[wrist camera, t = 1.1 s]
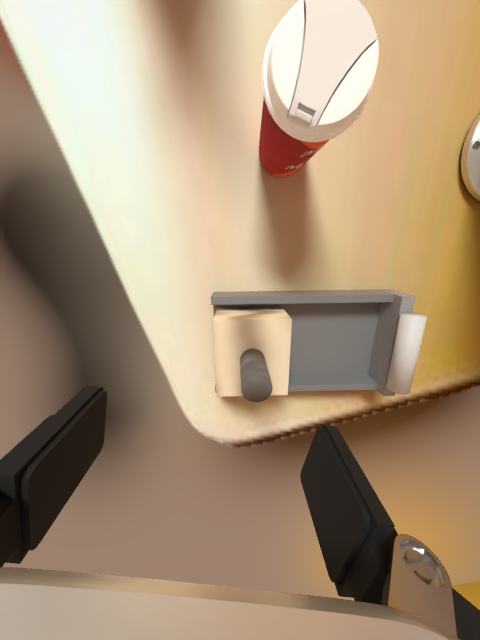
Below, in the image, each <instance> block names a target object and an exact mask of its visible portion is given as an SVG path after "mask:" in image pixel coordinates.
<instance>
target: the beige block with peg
mask: <svg viewBox="0 0 480 640" xmlns="http://www.w3.org/2000/svg"><path fill="white" fill-rule="evenodd" d="M291 329H292V319H291V318H290V316H289V315H288V314H287V313H286V311H285V310H284V309H283V308H282V307H251V308H217V309H216V313H215V316H214V319H213V331H214V353H215V374H216V395H217V397H223V396H244V397H245V398H246V399H247V400H249V401H252V402H261V401H263V400H265V399H267V398H268V397H269V396H270V395H288V382H289V364H290V346H291Z"/></svg>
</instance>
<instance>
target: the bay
mask: <svg viewBox="0 0 480 640" xmlns="http://www.w3.org/2000/svg"><path fill="white" fill-rule="evenodd" d="M414 301H415V296H412V295H408V294H404V293H400V292H396V291H393V290H331V291H262V292H213V294H212V296H211V305H213V309H214V316H215V313H216V309H217V308H251V307H282V308H283V309H284V310H285V311H286V313H287V314H288V315H289V316H290V318H291V319H292V329H291V346H290V364H289V382H288V392H290V391H337V390H378V391H379V392H380V393H381V394H382V395H383V396H395V393H398V394H409V393H410V389H411V385H412V381H413V376H414V372H415V368H416V363H417V359H418V355H419V350H420V346H421V342H422V338H423V333H424V329H425V325H426V320H427V316H425V315H422V314H418V313H412V310H413V306H414ZM215 391H216V386H215Z"/></svg>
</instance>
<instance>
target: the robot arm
mask: <svg viewBox="0 0 480 640" xmlns="http://www.w3.org/2000/svg"><path fill="white" fill-rule="evenodd" d="M461 174H462V177H463V181H464V184H465V186H466V188H467V190H468V191H469V193H470V194H471V195H472V196H473V197H474V198H475V199H477V200H478V201H480V114H479V115H478V116H477V118H476V119H475V121H474V123H473V124H472V126H471V128H470V130H469V132H468V134H467V137H466V139H465V142H464V146H463V150H462V156H461ZM106 403H107V392H106V391H104V389H103V387H99V386H93V385H87V386H86V387H84V388H83V389H82V390H81V391H80V392H79V393H78V394H76V395H75V396H74V397H73V398H72V399H71V400H70V401H69V402H68V403H67V404H66V405H64V406H63V407H62V408H61V409H60V410H59V411H58V412H57V413H56V414H55V415H51V416H49V417H48V418H47V419H45V420H44V421H43V422H42V423H41V424H40V425H39V426H38V427H36V429H34V430H33V431H32V432H31V433H30V434H29V435H28V436H26V437H25V438H24V439H23V440H22V441H21V442H20V443H19V444H17V445H16V446H15V447H14V448H13V449H12V450H11V451H10V452H9V453H8V454H6V455H5V456H4V457H3V458H2V459H1V460H0V640H480V610H478V609H477V608H476V607H475V606H474V605H472V604H471V603H470V602H469V601H468V600H466V599H465V598H464V597H463V596H462V595H460V594H459V593H458V592H457V591H455V590H454V589H453V588H452V586H451V582H450V578H449V576H448V573H447V571H446V570H445V567H444V566H443V564H442V563H441V562H440V560H439V559H438V557H437V556H436V555H435V554H434V553H433V552H432V551H431V550H430V549H429V548H428V547H427V546H425V545H424V544H423V543H422V542H421V541H419V540H417V539H416V538H414V537H412V536H409V535H405V534H400V535H398V534H397V532H396V530H395V528H394V527H395V526H394V524H393V522H392V520H391V519H390V517H389V515H388V514H387V512H386V510H385V508H384V507H383V505H382V503H381V502H380V500H379V498H378V497H377V495H376V493H375V491H374V490H373V488H372V486H371V485H370V483H369V481H368V479H367V478H366V476H365V474H364V473H363V471H362V469H361V468H360V466H359V464H358V463H357V461H356V459H355V457H354V456H353V454H352V452H351V451H350V449H349V447H348V445H347V444H346V442H345V440H344V439H343V437H342V435H341V434H340V432H339V430H338V429H337V427H335V426H329V425H322V426H321V427H318V428H317V431H316V433H315V436H314V439H313V441H312V444H311V447H310V449H309V452H308V454H307V457H306V460H305V463H304V465H303V468H302V470H301V483H302V486H303V489H304V493H305V496H306V499H307V503H308V507H309V510H310V513H311V516H312V520H313V524H314V527H315V530H316V534H317V537H318V540H319V544H320V547H321V550H322V554H323V558H324V561H325V564H326V568H327V571H328V575H329V577H330V579H331V581H332V582H334V583H335V586H336V589H337V592H338V595H339V596H342V597H352V598H354V599H355V601H351V600H344V599H336V598H329V597H320V596H311V595H301V594H292V593H283V592H273V591H264V590H255V589H245V588H236V587H226V586H225V587H224V586H216V585H205V584H196V583H186V582H176V581H165V580H156V579H145V578H134V577H124V576H112V575H102V574H92V573H81V572H69V571H55V570H42V569H27V568H3V567H2V566H3V564H4V563H5V562H7V563H17V564H20V562H21V561H22V560H23V558H24V557H25V555H26V554H27V552H28V551H29V550H34V549H35V548H36V547H37V546H38V544H39V543H40V542H41V540H42V539H43V537H44V536H45V534H46V533H47V531H48V530H49V528H50V527H51V525H52V524H53V522H54V520H55V519H56V518H57V516H58V515H59V513H60V512H61V510H62V509H63V507H64V505H65V504H66V502H67V501H68V500H69V498H70V497H71V495H72V494H73V492H74V490H75V489H76V487H77V486H78V484H79V483H80V481H81V480H82V478H83V477H84V475H85V474H86V472H87V471H88V469H89V468H90V466H91V465H92V463H93V462H94V460H95V459H96V457H97V456H98V454H99V453H100V451H101V449H102V447H103V443H104V432H105V417H106Z"/></svg>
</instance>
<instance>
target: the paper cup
mask: <svg viewBox="0 0 480 640" xmlns="http://www.w3.org/2000/svg"><path fill="white" fill-rule="evenodd" d="M376 40H377V35H376V32H375V29H374V26H373V23H372V20H371V18H370V15H369V14H368V12H367V10H366V9H365V7H364V6H363V5H362V4H361V3H360V2H359V1H358V0H299V1H298V2H297V3H296V4H295V5H294V6H293V7H291V9H290V10H289V11H288V13H287V14H286V15H285V17H284V18H283V19H282V20H281V21H280V23H279V24H278V25H277V27H276V28H275V30H274V32H273V34H272V35H271V37H270V40H269V42H268V45H267V47H266V51H265V55H264V59H263V66H262V87H263V94H264V101H263V110H262V120H261V131H260V142H259V155H260V160H261V163H262V165H263V167H264V168H265V170H266V171H267V172H268V173H270V174H271V175H273V176H276V177H286V176H289V175H291V174H293V173H294V172H296V171H297V170H298V169H299V168H300V167H301V166H303V165H304V164H305V163H306V162H307V161H308V160H309V159H310V158H311V157H312V156H313V155H314V154H315V153H316V152H317V151H318V150H319V149H320V148H322V147H323V146H324V145H325V144H326V143H327V142H328V141H329V140H330V139H332V138H334V137H336V136H338V135H339V134H341V133H343V132H344V131H345V130H346V129H347V128H349V127H350V126H351V125H352V124H353V122H354V121H355V120H356V119H357V118H358V116H359V115H360V113H361V112H362V111H363V109H364V107H365V105H366V103H367V101H368V98H369V96H370V93H371V90H372V86H373V81H374V78H375V74H376V70H377V64H378V40H377V41H376Z"/></svg>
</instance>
